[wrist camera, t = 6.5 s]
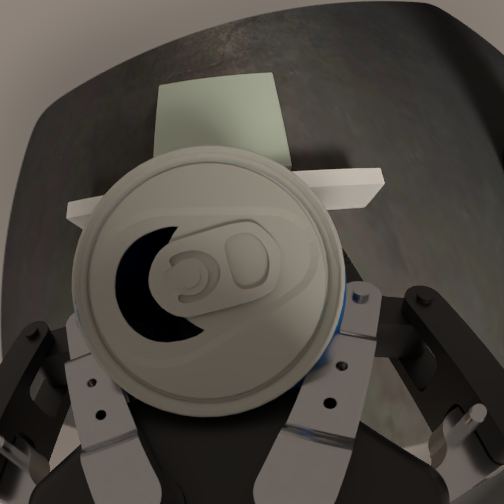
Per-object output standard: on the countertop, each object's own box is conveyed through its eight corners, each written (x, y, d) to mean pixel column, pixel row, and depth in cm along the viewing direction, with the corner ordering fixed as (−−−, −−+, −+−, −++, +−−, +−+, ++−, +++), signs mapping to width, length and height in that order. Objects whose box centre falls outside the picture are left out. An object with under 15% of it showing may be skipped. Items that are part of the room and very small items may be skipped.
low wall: (361, 193, 19) (380, 167, 16) (364, 207, 19) (384, 183, 16) (93, 222, 19) (68, 202, 15) (92, 236, 18) (66, 218, 15)
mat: (271, 77, 22) (271, 72, 21) (290, 170, 20) (291, 165, 19) (160, 90, 22) (159, 85, 21) (154, 185, 19) (152, 181, 19)
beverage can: (167, 272, 18) (49, 180, 6) (271, 243, 18) (300, 104, 7) (195, 378, 16) (98, 454, 5) (304, 348, 17) (403, 377, 5)
